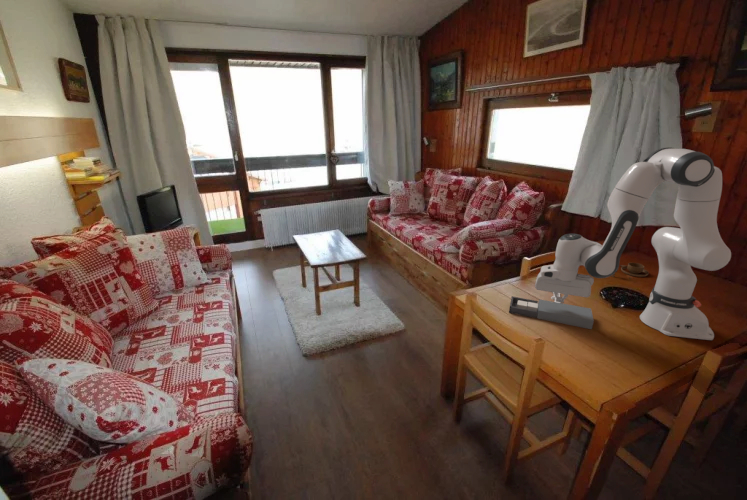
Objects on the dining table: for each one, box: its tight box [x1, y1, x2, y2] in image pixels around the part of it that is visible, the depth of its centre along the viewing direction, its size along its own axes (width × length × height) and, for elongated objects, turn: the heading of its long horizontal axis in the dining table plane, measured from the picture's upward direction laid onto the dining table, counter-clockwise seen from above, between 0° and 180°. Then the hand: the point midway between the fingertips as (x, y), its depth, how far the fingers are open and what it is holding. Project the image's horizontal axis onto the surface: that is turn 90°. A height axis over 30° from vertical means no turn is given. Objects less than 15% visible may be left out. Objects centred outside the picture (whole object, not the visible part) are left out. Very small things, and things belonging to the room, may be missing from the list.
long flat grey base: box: [536, 298, 595, 330], centre depth 140 cm, size 20×10×4 cm, turn 64°
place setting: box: [611, 262, 650, 280], centre depth 178 cm, size 18×20×6 cm
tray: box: [508, 296, 539, 319], centre depth 147 cm, size 11×10×3 cm
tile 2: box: [527, 302, 538, 311], centre depth 145 cm, size 4×4×2 cm
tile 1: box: [517, 300, 528, 309], centre depth 147 cm, size 4×4×2 cm
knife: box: [550, 292, 562, 303], centre depth 160 cm, size 30×2×8 cm
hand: (559, 301), depth 140 cm, fingers closed
